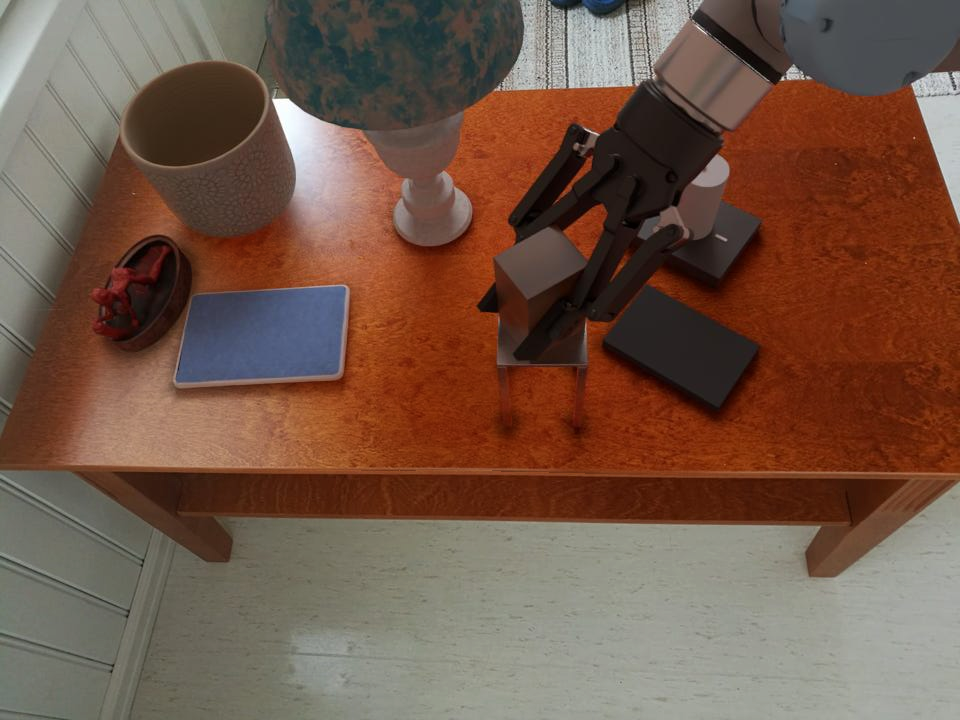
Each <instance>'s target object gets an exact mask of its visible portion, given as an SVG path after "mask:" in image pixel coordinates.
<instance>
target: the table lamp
mask: <svg viewBox="0 0 960 720" xmlns="http://www.w3.org/2000/svg"><path fill="white" fill-rule="evenodd" d="M524 21H525V20H524V16H523V9H522V4H521V0H266V1H265V10H264V30H265V31H264V32H265V40H266V48H267V54H268V59H269V64H270V69H271V72H272V75H273V76H274V78H275V81H276V83H277V85H278V87H279V89H280V90H281V91H282V93H283V94H284V95H285V96H286V97H287V99H288V100H289V101H290V102H291V103H292V104H294V105H295V106H296V107H298V108H299V109H300V110H301V111H302V112H304V113H306V114H308V115H310V116H312V117H314V118H315V119H318V120H319V121H322V122H325V123H327V124H331V125H334V126H338V127H341V128H346V129H352V130H353V129H354V130H360V131H362V134H363V135H364V137H365V138H366V140H367V141H368V143H370V145H371V146H373V148H374V149H375V152H376V154H377V156H378V157H379V159H380V160H381V161H382V163H383V164H384V165H385V167H386V168H388V170H390V171H391V172H392V173H394V174H395V175H397V176H398V177H401V178H402V179H403V178H404V180H403V181H402V183H401V186H400V194H401V197H400V199H399V200H398V201H397V203H396V205H395V207H394V209H393V213H392V214H393V215H392V222H393V226H394V228H395V230H396V232H397V234H398V235H400V237H401V238H402V239H404V240H405V241H407V242H409V243H411V244H414V245H415V246H421V247H438V246H442V245H445V244H448V243H450V242H452V241H454V240H456V239H457V238H459V237H460V236H462V234H463V233H465V231H466V230H467V229H468V227H469V226H470V224H471V221H472V218H473V205H472V202H471V199H469V197H468V196H467V194H465V193H464V192H463V191H462V190H461V189H459V188H458V187H456V186H455V184H454V181H453V180H454V179H453V178H452V176H451V175H450V174H449V173H448V172H446V171H445V170H447V168H448V167H449V166H450V165H451V164H452V162H453V161H454V159H455V158H456V155H457V153H458V149H459V146H460V140H461V129H462V127H463V124H464V122H465V114H466V113H465V110H467V109H469V108H471V107H472V106H474V105H476V104H478V103H479V102H481V101H482V100H484V98H486V97H487V96H489V95H490V94H491V93H492V92H494V91H495V90H496V89H497V87H498V86H500V84H501V83H502V82H504V80H505V79H506V78H507V77H508V76H509V74H510V73H511V71H512V69H513V68H514V66H515V65H516V63H517V61H518V59H519V56H520V53H521V51H522V48H523V45H524V44H523V43H524V34H525V22H524Z"/></svg>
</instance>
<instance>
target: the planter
mask: <svg viewBox="0 0 960 720" xmlns="http://www.w3.org/2000/svg"><path fill="white" fill-rule="evenodd" d="M118 127H119V128H118V129H119V130H118V131H119V139H120V142H121V145H122V146H123V148H124V150H125V152H126V153H127V155H128V156H129V158H130V159H131V161H132V162H133V163H134V164H135V166H136V167H137V168H138V170H139V171H140V173H141V174H142V175H143V176H144V178H145V179H146V180H147V182H148V184H149V185H151V187H152V188H153V190H154V191H155V192H156V193H157V195H158V196H159V197H160V199H161V201H163V203H164V205H165V206H166V207H167V208H168V210H169V211H170V212H171V213H172V214H173V215H174V216H175V217H176V218H177V219H178V220H179V221H180V222H181V223H182V224H183V225H185V226H186V227H187V228H189V229H191V230H192V231H194V232H196V233H198V234H200V235H204V236H207V237H212V238H216V239H234V238H235V239H236V238H241V237H246V236H249V235H252V234H255V233H257V232H259V231H262V230H263V229H265V228H267V227H268V226H270V225H271V224H272V223H273V222H275V221H276V220H277V219H278V218H279V217H280V216H281V215H282V214H283V213H284V212H285V210H286V209H287V207H288V205H289V204H290V202H291V200H292V198H293V195H294V193H295V188H296V184H297V183H296V182H297V170H296V163H295V160H294V156H293V152H292V150H291V147H290V144H289V142H288V139H287V136H286V134H285V131H284V128H283V124H282V123H281V120H280V116H279V114H278V112H277V109H276V105H275V103H274V101H273V98H272V96H271V94H270V91H269V89H268V86H267V84H266V83H265V81H264V79H263V78H262V77H261V76H260V75H259V74H258V73H257V72H256V71H254V70H253V69H252V68H249V67H248V66H245V65H244V64H241V63H239V62H235V61H230V60H225V59H224V60H223V59H206V60H205V59H204V60H197V61H192V62H188V63H184V64H180V65H178V66H175V67H173V68H170V69H167V70H166V71H163V72H162V73H160V74H158V75H157V76H155V77H153V78H152V79H151V80H149V81H148V82H146V83H145V84H144V85H143V86H141V87H140V89H139V88H138V90H137V91H136V92H135V93H134V95H132V97H131V98H130V100H129V101H128V102H127V104H126V106H125V107H124V109H123V111H122V114H121V117H120V120H119V126H118Z"/></svg>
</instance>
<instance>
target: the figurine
mask: <svg viewBox="0 0 960 720" xmlns="http://www.w3.org/2000/svg"><path fill="white" fill-rule="evenodd" d="M192 284H193V269H192V264H191V261H190V260H189V258H188V256H187V255H185V253H184V252H183V251H182V250H181V248H179V246H178V244H177V243H176V241H174V239H173V238H171V237H170V236H168V235H165V234H160V233H159V234H158V233H157V234H151V235H148V236H146V237H143V238H142V239H140V240H138V241H137V242H136V243H134V244H133V245H132V246H131V247H129V248H128V249H127V251H125V252H124V253H123V254H122V256H121V257H120V258H119V260H118V261H117V263H116V264H115V265H114V267H113V268H112V269H111V271H110V273H109V275H108V277H107V279H106V280H105V283H104V286H103V288H102V287H94V288H93V291H92V293H91V298H92V301H93V302H94V303H96V304H98V309H97V317H94V318H93V322H92V323H91V327H90V328H91V329H92V330H93V333H94V334H96V335H99V336H102V337H104V338H105V339H106V340H107V341H108V342H110V343H112V344H113V345H115V346H116V348H118V349H119V350H121V351H123V352H128V353H137V352H141V351H143V350H146V349H148V348H149V347H151V346H153V345H154V344H156V343H158V342H159V341H160V340H161V339H162V338H163V337H164V336H165V335H166V334H168V332H169V331H170V330H171V329H172V327H174V325H175V324H176V323H177V322H178V320H179V318H180V316H181V315H182V313H183V311H184V309H185V307H186V306H187V304H188V301H189V299H190V298H189V297H190V294H191V290H192Z"/></svg>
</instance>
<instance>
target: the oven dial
mask: <svg viewBox="0 0 960 720" xmlns="http://www.w3.org/2000/svg"><path fill="white" fill-rule="evenodd" d="M730 173H731V168H730V165H729V163H728V162H727V160H726V159H725V158H724V157H722V156H721V155H720V154H718V153H717V154H716V156H715V157H714V158H713V159H712V160H711V161H710V163H709V164H708V165H707V166H706V167H705V168H704V170H703V171H702V172H701V173H700V174H699V175H698V177H697V178H696V179H694V180H693V181H692V182H691V183H690V184H689V185H688V186H687V187H686V188H685V190H684V191H683V194H682V196H681V200H680V203H679V205H678V207H677V210H678V212H679V214H680V217H681V219H682V221H683V223H684V225H685V227H688V228H690V229H692V230H693V232H694V238H693V240H698V239H702V238H704V237H706V236H707V235H708V234H709V233H710V232H711V230H712V228H713V225H714V221H715V218H716V215H717V212H718V209H719V206H720V202H721V200H723V196H724V193H725V190H726V186H727V184H728V181H729V177H730Z"/></svg>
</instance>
